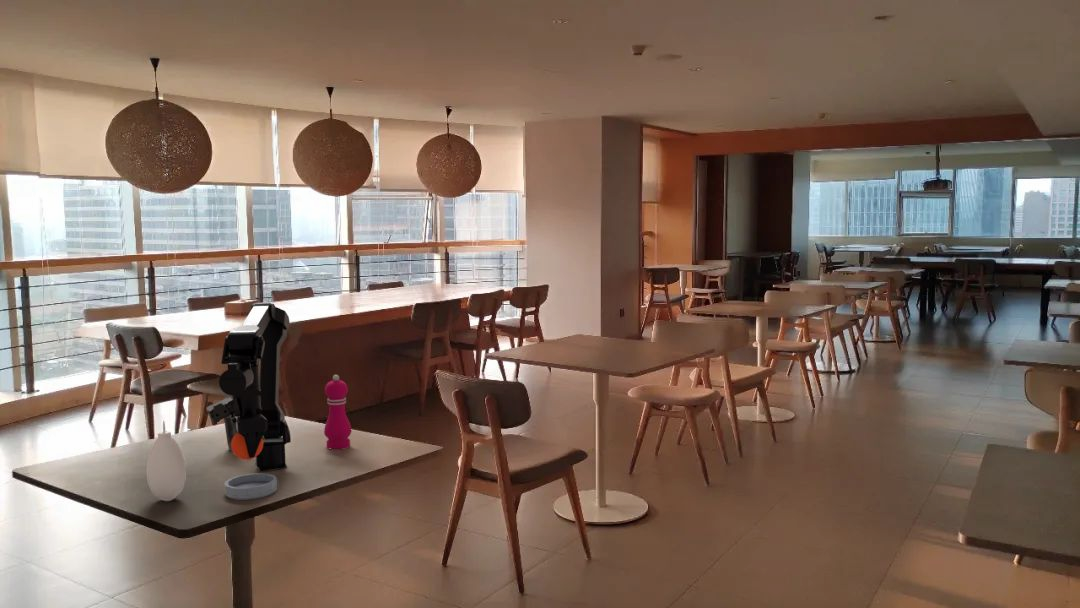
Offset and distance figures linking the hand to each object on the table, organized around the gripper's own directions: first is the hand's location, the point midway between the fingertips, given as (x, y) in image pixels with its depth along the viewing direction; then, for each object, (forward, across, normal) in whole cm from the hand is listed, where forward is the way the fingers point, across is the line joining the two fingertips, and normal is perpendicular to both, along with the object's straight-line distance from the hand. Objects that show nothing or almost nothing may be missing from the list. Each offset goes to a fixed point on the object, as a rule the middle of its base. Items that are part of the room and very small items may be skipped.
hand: (249, 453), depth 186 cm
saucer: (+9, 0, 0) cm, 9 cm away
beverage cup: (+9, -40, +1) cm, 41 cm away
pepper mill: (+9, -29, +26) cm, 40 cm away
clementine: (+2, 0, 0) cm, 2 cm away
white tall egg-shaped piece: (+9, -3, -17) cm, 20 cm away
